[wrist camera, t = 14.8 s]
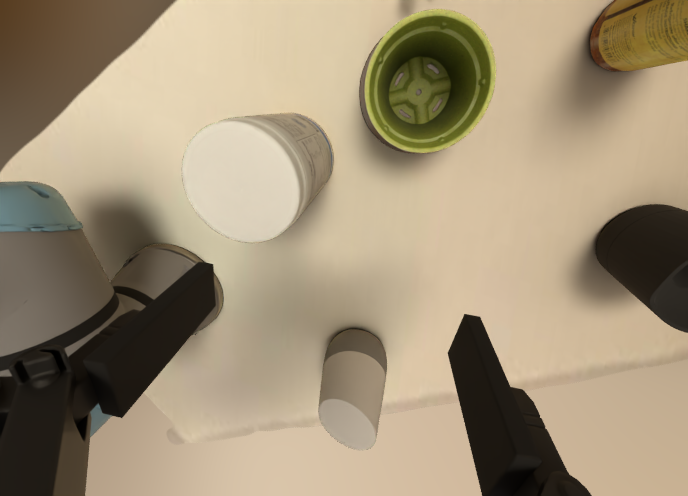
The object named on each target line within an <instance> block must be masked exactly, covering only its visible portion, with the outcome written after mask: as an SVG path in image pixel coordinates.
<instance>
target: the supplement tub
mask: <svg viewBox="0 0 688 496" xmlns="http://www.w3.org/2000/svg"><path fill="white" fill-rule="evenodd" d="M332 168H333V150H332V146H331V143H330V141H329V139H328V137H327V135H326V133H325V132H324V130H323V129H322V128H321V127H320V126H319V125H318V124H317V123H316V122H314V121H313V120H312V119H310V118H308V117H306V116H304V115H301V114H296V113H280V114H269V115H256V116H245V117H235V118H228V119H224V120H221V121H218V122H216V123H213V124H210V125H208V126H206V127H204V128H203V129H201V130H200V131H199V132H197V133H196V134H195V135H194V136H193V138H192V139H191V140H190V142H189V143H188V145H187V147H186V150H185V153H184V156H183V160H182V180H183V185H184V189H185V192H186V195H187V197H188V199H189V201H190V203H191V205H192V207H193V209H194V210H195V211H196V213H197V214H198V215H199V217H200V218H201V219H202V220H203V221H204V222H205V223H206V224H207V225H208V226H210V227H211V228H212V229H213V230H215V231H216V232H218V233H219V234H221V235H223V236H225V237H227V238H230V239H232V240H235V241H239V242H245V243H260V242H265V241H268V240H271V239H273V238H275V237H277V236H279V235H280V234H282V233H283V232H284V231H285V230H287V229H288V228H289V227H290V226H291V225H292V224H293V223H294V222H295V221H296V220H297V219H298V218H299V216H300V215H301V214H302V213H303V211H304V210H305V209H306V208H307V206H308V205H309V204H310V203H311V201H312V200H313V199H314V198H315V196H316V195H317V194H318V192H319V191H320V190H321V189H322V188H323V186H324V185H325V183H326V182H327V181H328V179H329V177H330V175H331V172H332Z"/></svg>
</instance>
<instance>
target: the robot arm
mask: <svg viewBox="0 0 688 496" xmlns="http://www.w3.org/2000/svg"><path fill="white" fill-rule="evenodd" d="M82 228H83V225H82V223H81V222H79V221H77V219H76V217H75V216H74V214H73V213H72V211H71V209H70V208H69V206H68V204H67V203H66V201H65V200H64V198H63V196H62V195H61V194H60V193H59V192H58V191H57V190H56V189H54V188H53V187H51V186H48V185H46V184H43V183H38V182H26V181H24V182H0V496H85V490H86V489H85V488H86V477H87V467H88V454H89V442H90V437H91V436H92V435H93V434H94V433H95V432H96V431H97V430H98V429H99V428H100V427H101V426H102V425H103V424H104V423H105V422H106V421H107V420H108V419H109V418H110V417H112V416H116V417H121V418H122V417H123V416H124V415H125V414H126V413H127V411H128V410H129V409H130V407H132V405H133V404H134V403H135V402H136V401H137V399H138V398H139V397H140V396H141V395H142V393H143V392H144V391H145V390H146V389H147V388H148V386H149V385H150V384H151V383H152V382H153V380H154V379H155V378H156V377H157V376H158V374H159V373H160V372H161V371H162V370H163V368H164V367H165V366H166V365H167V364H168V362H169V361H170V360H171V359H172V358H173V356H174V355H175V354H176V353H177V352H178V351H179V349H180V348H181V347H182V346H183V345H184V343H185V342H186V341H187V340H188V339H189V337H190V336H191V335H196V334H197V333H198V332H199V331H200V330H202V329H203V328H205V327H206V326H208V325H209V324H210V323H211V322H212V321H213V320H214V319H215V318H216V316H217V315H218V314H219V312H220V310H221V308H222V304H223V294H222V289H221V286H220V283H219V281H218V279H217V278H216V276H215V274H214V271H213V264H209V263H204V262H203V261H202V260H201V259H200V258H198V257H197V256H196V255H194V254H193V253H191V252H189V251H187V250H185V249H183V248H180V247H178V246H174V245H170V244H153V245H149V246H147V247H145V248H143V249H141V250H139V251H138V252H136V253H134V254H133V255H132V256H131V257H130V258H129V259H128V260H127V261H126V263H125V264H124V265H123V268H122V269H121V270H120V271H119V272H118V273H117V274H116V275H115V277H114V278H113V279H112V281H111V282H110V281H109V279H108V278H107V276H106V274H105V272H104V270H103V269H102V267H101V265H100V263H99V261H98V259H97V257H96V255H95V253H94V251H93V249H92V248H91V246H90V244H89V242H88V240H87V238H86V236H85V234H84V232H83V230H82ZM448 356H449V360H450V364H451V368H452V373H453V377H454V381H455V385H456V389H457V393H458V397H459V401H460V406H461V410H462V413H463V418H464V422H465V426H466V430H467V434H468V439H469V443H470V447H471V451H472V455H473V459H474V463H475V467H476V471H477V476H478V480H479V484H480V488H481V492H482V496H591V494H590V493H589V491H588V490H587V489H586V488H585V487H584V486H583V485H582V484H581V483H580V482H579V481H578V480H577V479H575V478H574V477H572V476H570V475H569V473H568V472H567V470H566V468H565V466H564V464H563V462H562V460H561V458H560V456H559V454H558V451H557V450H556V447H555V445H554V443H553V441H552V439H551V437H550V435H549V433H548V431H547V429H545V425H544V423H543V421H542V419H541V418H540V415H539V412H538V410H537V408H536V406H535V405H534V402H533V401H532V400H531V399H530V398H529V396H528V395H527V394H526V393H525V392H524V391H523V390H522V389H517V388H513V387H510V385H509V383H508V380H507V378H506V376H505V374H504V371H503V369H502V367H501V364H500V362H499V360H498V357H497V355H496V353H495V350H494V348H493V346H492V344H491V341H490V339H489V337H488V334H487V332H486V330H485V327H484V325H483V323H482V320H481V318H480V317H477V316H472V315H467V314H464V317H463V319H462V321H461V324H460V326H459V328H458V331H457V333H456V335H455V338H454V340H453V342H452V345H451V347H450V349H449V352H448Z"/></svg>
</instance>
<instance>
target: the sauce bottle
mask: <svg viewBox="0 0 688 496" xmlns="http://www.w3.org/2000/svg"><path fill="white" fill-rule="evenodd" d="M590 45H591V54H592V57H593V59H594V61H595V62H596V63H597V64H598V65H600V66H601V67H602V68H604V69H607V70H610V71H632V70H639V69H645V68H650V67H655V66H660V65H665V64H670V63H676V62H681V61H687V60H688V0H614V1H613V2H612V3H611V4H610V5H609V6H608V7H607V8H606V10H605V11H604V12H603V13H602V15H601V16H600V17H599V19H598V21H597V22H596V24H595V26H594V27H593V30H592V33H591V38H590Z"/></svg>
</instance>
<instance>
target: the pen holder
mask: <svg viewBox="0 0 688 496" xmlns="http://www.w3.org/2000/svg"><path fill="white" fill-rule="evenodd" d="M596 255H597V259H598V261H599V262H600V264H601V265H602V266H603V267H604V268H605V269H606V270H607V271H608V272H609V273H610V274H611V275H613V277H615V278H616V279H617V280H618V281H619V282H620V283H621V284H622V285H623V286H625V287H626V288H627V289H628V290H629V291H630V292H631V293H632V294H633V295H635V296H636V297H637V298H638V299H639V300H640V301H641V302H642V303H644V304H645V305H646V306H647V307H648V308H649V309H650V310H651V311H652V312H654V313H655V314H656V315H657V316H658V317H659V318H660V319H661V320H663V321H664V322H665V323H667V324H668V325H670V326H671V327H673V328H675V329H677V330H680V331H683V332H687V333H688V211H686V210H682V209H679V208H676V207H672V206H668V205H660V204H654V205H646V206H641V207H637V208H634V209H632V210H629V211H627V212H625V213H623V214H621V215H620V216H618V217H616V218H615V219H614V220H612V221H611V222H610V223H609V224H608V225H607V226H606V227H605V228H604V230H603V231H602V233H601V234H600V236H599V238H598V241H597V244H596Z"/></svg>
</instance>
